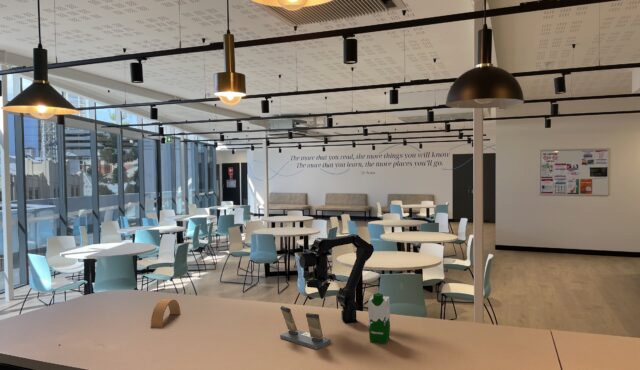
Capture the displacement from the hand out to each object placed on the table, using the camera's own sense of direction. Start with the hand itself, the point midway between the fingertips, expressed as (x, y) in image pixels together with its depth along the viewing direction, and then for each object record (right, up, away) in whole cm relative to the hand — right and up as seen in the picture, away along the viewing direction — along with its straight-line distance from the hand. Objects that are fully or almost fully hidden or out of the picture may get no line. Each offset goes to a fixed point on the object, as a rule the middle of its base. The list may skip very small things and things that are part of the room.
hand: (322, 298), depth 208 cm
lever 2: (-2, -11, -22) cm, 25 cm away
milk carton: (+24, -13, -18) cm, 33 cm away
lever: (-13, -11, -13) cm, 21 cm away
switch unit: (-7, -14, -17) cm, 23 cm away
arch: (-78, -15, +14) cm, 80 cm away
